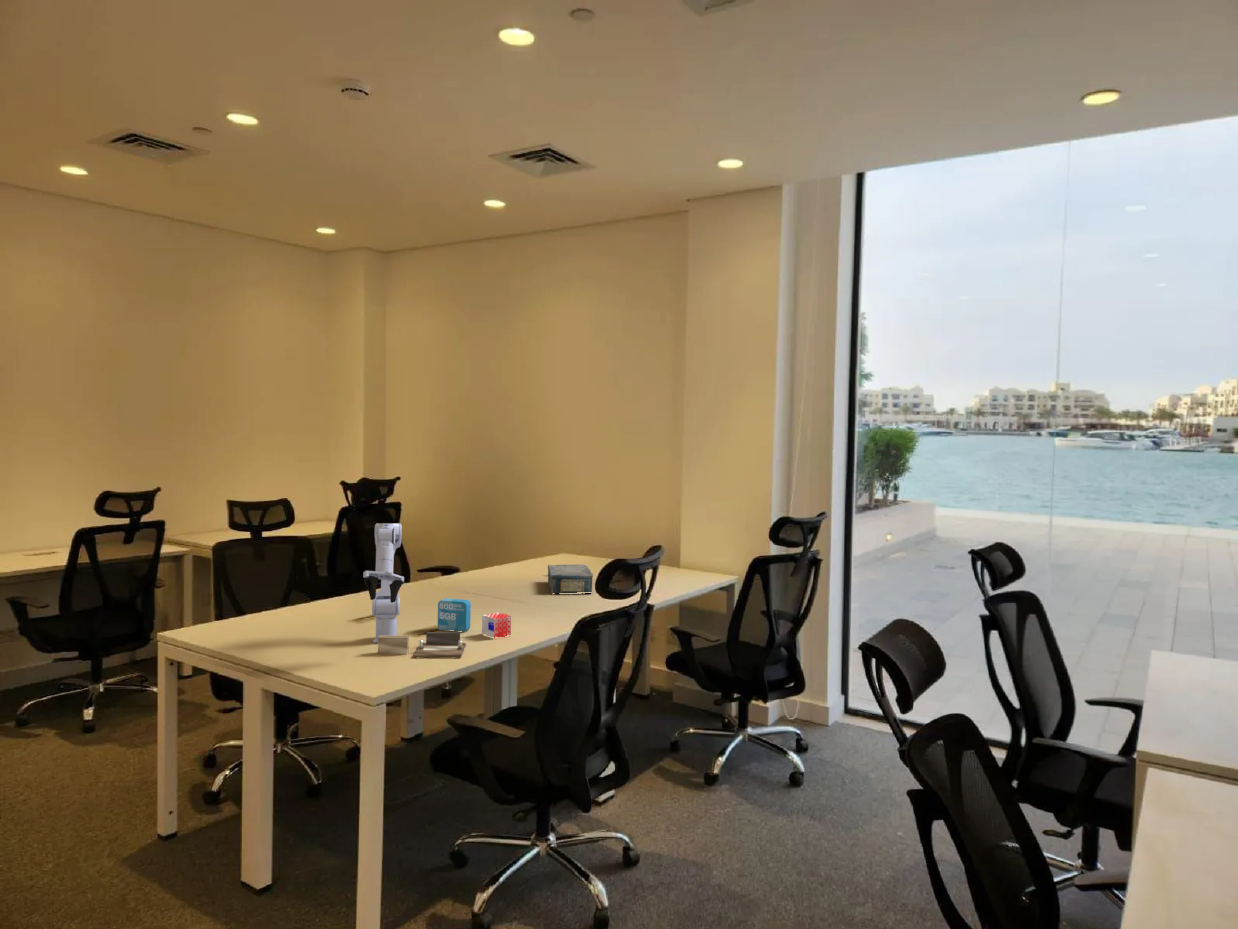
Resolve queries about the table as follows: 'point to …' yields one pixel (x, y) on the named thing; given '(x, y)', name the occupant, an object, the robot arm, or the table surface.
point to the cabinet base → (441, 645)
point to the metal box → (569, 578)
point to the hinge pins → (422, 644)
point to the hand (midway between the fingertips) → (383, 600)
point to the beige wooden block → (393, 644)
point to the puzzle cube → (496, 625)
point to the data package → (454, 614)
